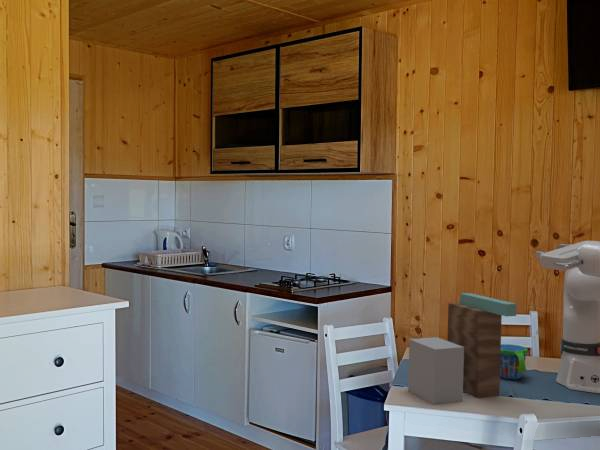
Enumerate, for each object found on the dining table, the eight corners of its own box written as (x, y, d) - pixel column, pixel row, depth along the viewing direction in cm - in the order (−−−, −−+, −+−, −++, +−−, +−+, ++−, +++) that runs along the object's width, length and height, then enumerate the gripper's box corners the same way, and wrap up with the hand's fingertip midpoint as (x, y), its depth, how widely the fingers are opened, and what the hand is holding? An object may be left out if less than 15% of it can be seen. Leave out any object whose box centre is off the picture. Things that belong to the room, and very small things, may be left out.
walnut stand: (499, 395, 192) (501, 310, 191) (477, 398, 189) (479, 311, 188) (466, 381, 206) (469, 302, 206) (446, 383, 204) (448, 303, 203)
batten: (516, 315, 181) (516, 303, 181) (506, 316, 180) (506, 304, 180) (469, 303, 202) (469, 293, 202) (459, 304, 201) (460, 293, 200)
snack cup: (486, 371, 220) (487, 342, 219) (516, 371, 220) (516, 342, 220) (503, 383, 204) (504, 352, 204) (535, 384, 205) (536, 352, 204)
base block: (462, 400, 186) (464, 347, 185) (433, 404, 182) (435, 349, 181) (435, 387, 199) (437, 337, 198) (408, 390, 195) (409, 339, 194)
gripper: (568, 279, 160) (523, 269, 171) (616, 262, 170) (570, 254, 182) (568, 255, 158) (522, 246, 170) (616, 239, 169) (570, 233, 180)
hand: (547, 250), depth 176 cm, fingers open, 8 cm apart
